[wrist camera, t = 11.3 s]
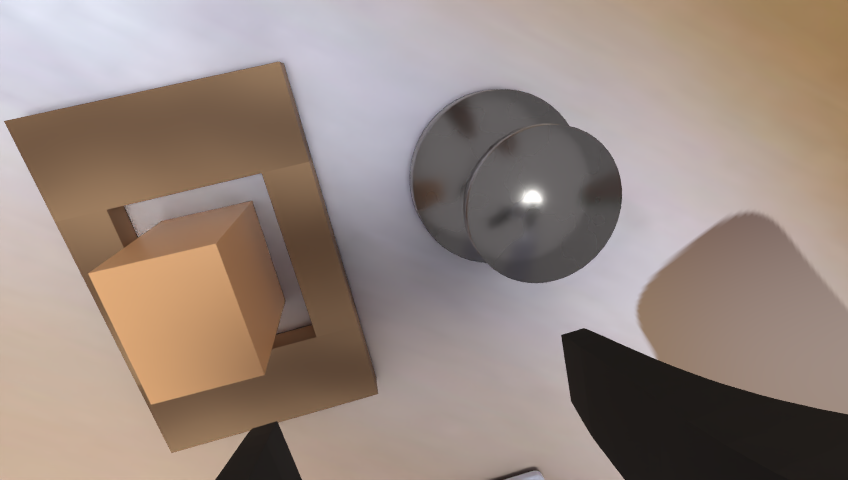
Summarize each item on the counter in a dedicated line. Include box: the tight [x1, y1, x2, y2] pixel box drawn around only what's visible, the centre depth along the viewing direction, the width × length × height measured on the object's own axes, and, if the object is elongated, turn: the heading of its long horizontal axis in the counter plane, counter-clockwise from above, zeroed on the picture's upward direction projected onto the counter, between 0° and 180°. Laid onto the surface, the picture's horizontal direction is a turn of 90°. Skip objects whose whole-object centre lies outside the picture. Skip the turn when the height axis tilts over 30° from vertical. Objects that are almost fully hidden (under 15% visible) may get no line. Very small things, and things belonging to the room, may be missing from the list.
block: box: [88, 201, 285, 405], centre depth 16 cm, size 4×4×6 cm
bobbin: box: [410, 90, 622, 283], centre depth 17 cm, size 7×7×6 cm
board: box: [4, 62, 378, 453], centre depth 18 cm, size 14×9×1 cm, turn 12°
